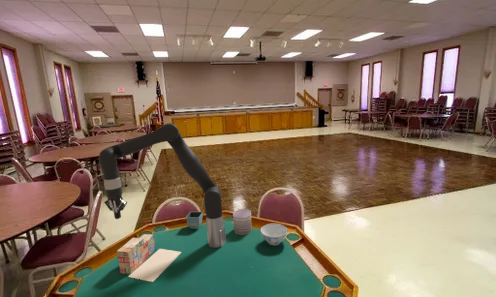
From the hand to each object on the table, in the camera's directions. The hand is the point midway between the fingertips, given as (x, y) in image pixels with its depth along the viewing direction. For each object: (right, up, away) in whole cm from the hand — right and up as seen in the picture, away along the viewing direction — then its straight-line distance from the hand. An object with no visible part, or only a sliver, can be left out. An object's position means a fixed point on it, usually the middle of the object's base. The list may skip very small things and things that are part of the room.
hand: (117, 218), depth 133 cm
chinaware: (+83, -17, +13) cm, 86 cm away
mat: (+21, -23, -2) cm, 31 cm away
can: (+65, -15, +28) cm, 72 cm away
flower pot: (+33, -16, +35) cm, 51 cm away
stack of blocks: (+10, -23, +1) cm, 25 cm away
